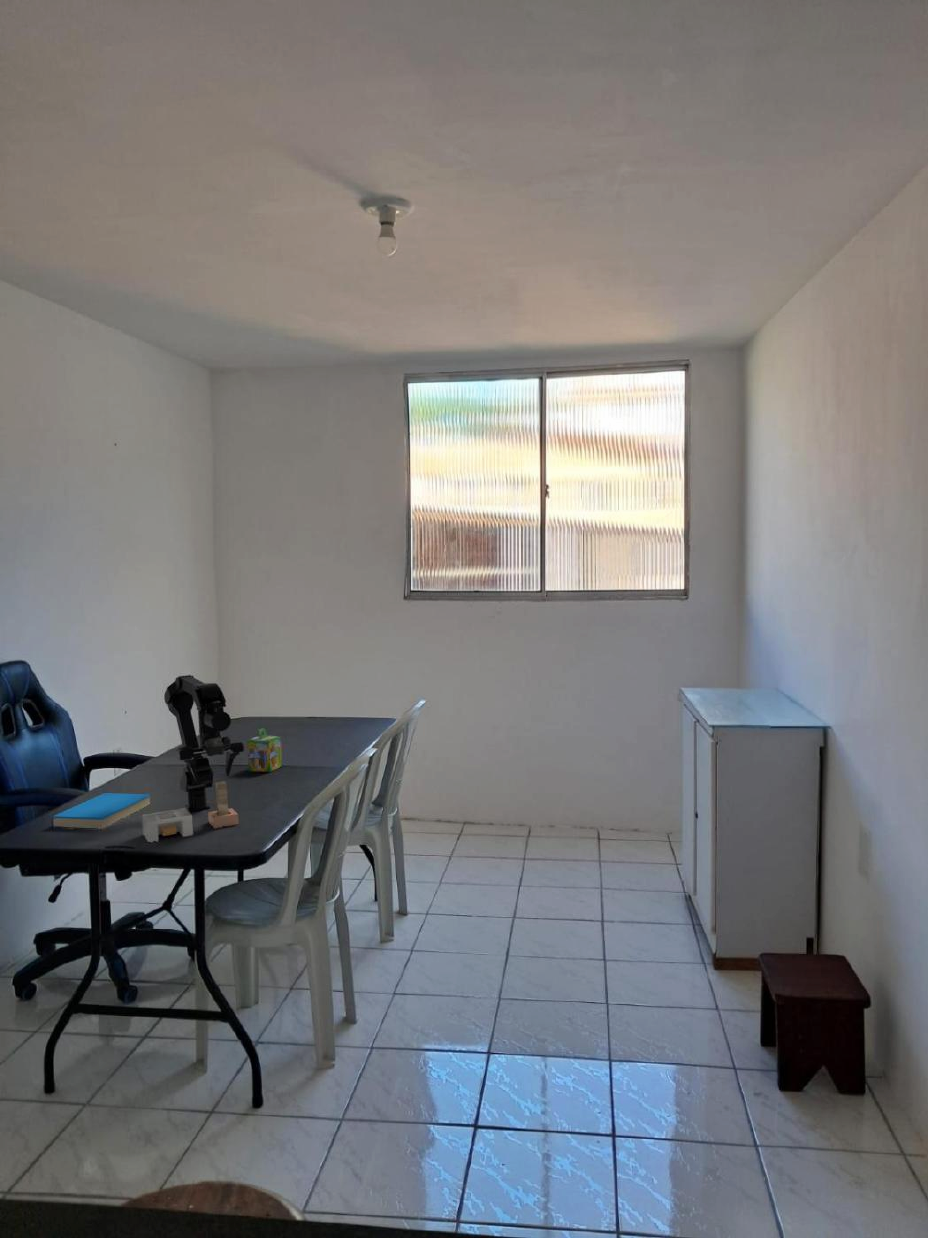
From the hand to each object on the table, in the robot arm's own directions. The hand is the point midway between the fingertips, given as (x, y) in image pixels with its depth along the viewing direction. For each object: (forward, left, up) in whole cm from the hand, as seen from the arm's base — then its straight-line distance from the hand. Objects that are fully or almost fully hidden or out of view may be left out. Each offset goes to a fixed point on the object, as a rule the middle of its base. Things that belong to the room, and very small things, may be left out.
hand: (212, 778), depth 271 cm
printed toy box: (-51, +30, -12) cm, 60 cm away
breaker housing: (+10, -15, -12) cm, 22 cm away
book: (-22, -29, -13) cm, 38 cm away
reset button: (+10, -15, -11) cm, 21 cm away
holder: (+7, +1, -12) cm, 14 cm away
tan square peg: (+7, +1, -12) cm, 14 cm away
